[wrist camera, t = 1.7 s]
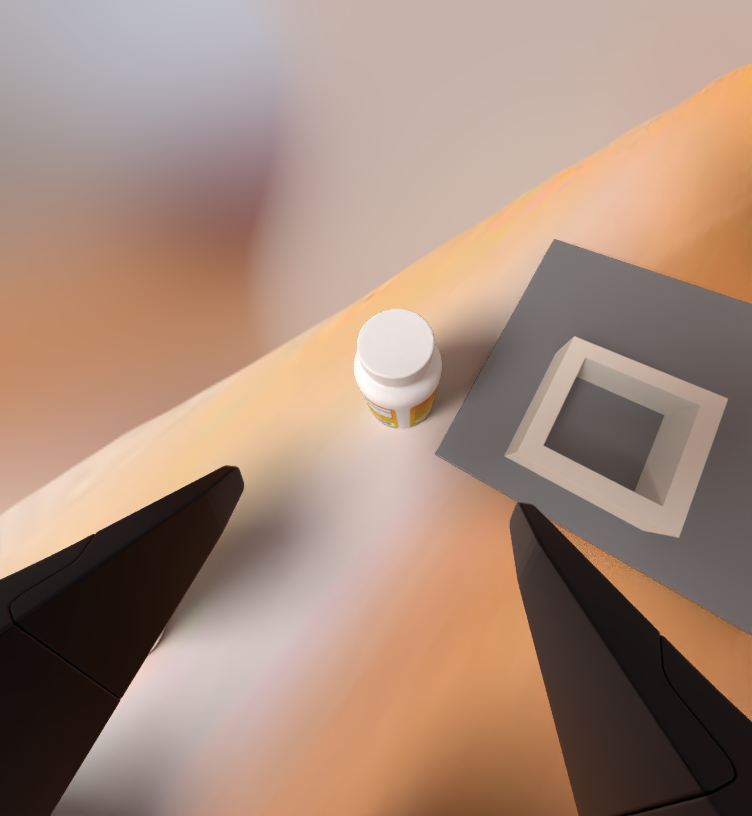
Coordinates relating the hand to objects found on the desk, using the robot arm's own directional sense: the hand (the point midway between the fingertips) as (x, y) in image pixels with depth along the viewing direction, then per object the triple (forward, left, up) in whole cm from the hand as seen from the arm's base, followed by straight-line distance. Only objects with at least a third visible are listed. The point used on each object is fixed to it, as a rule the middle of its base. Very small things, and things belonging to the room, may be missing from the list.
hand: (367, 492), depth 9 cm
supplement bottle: (+7, -3, -13) cm, 15 cm away
